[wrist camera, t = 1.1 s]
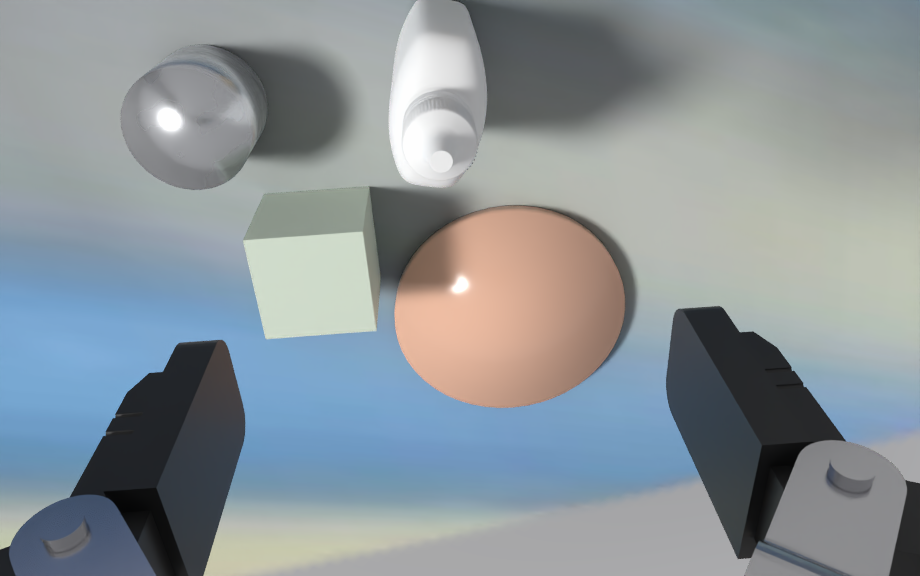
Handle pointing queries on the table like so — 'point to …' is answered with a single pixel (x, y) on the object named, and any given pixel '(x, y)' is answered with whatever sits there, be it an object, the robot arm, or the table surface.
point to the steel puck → (195, 117)
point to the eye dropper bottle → (437, 94)
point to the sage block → (315, 262)
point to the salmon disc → (509, 306)
